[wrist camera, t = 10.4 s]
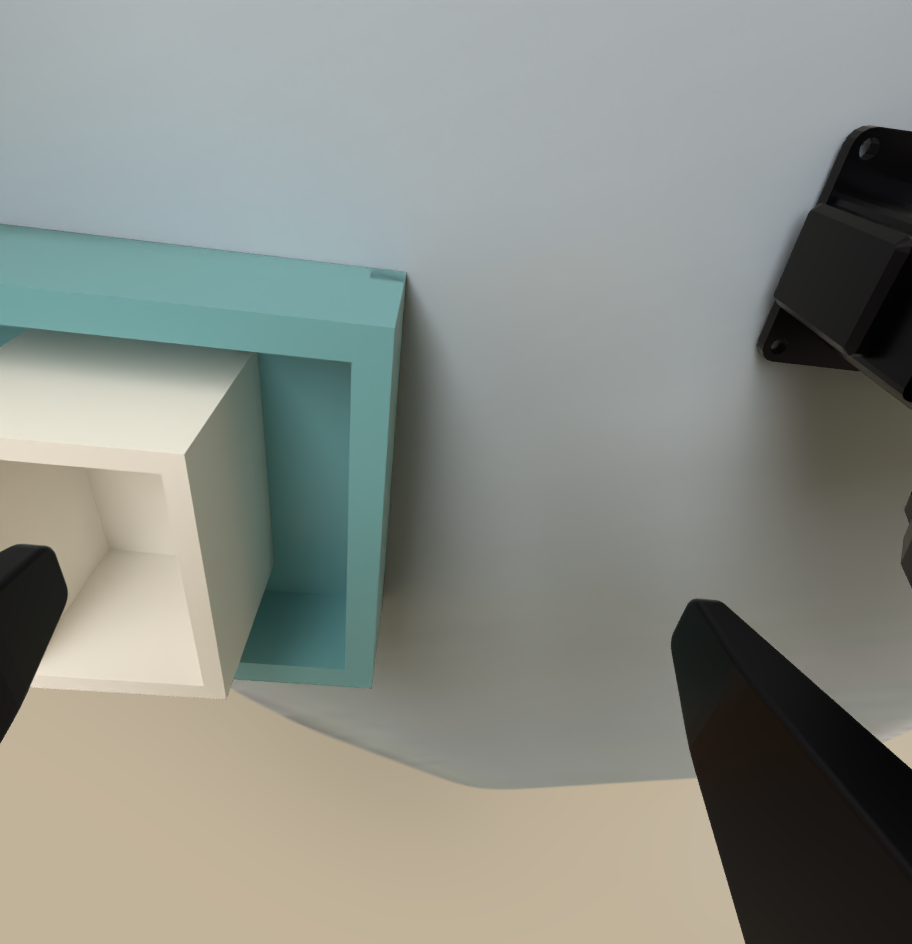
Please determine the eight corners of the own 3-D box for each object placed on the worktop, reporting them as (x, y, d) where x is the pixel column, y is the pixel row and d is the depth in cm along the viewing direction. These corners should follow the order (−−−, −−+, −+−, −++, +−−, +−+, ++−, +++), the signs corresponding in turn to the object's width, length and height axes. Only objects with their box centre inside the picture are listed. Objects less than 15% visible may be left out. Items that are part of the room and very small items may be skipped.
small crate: (256, 346, 18) (184, 454, 13) (274, 563, 23) (226, 699, 18) (37, 323, 18) (-125, 426, 13) (103, 549, 23) (7, 685, 18)
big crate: (406, 272, 18) (394, 328, 14) (383, 598, 26) (371, 688, 22) (-128, 208, 17) (-293, 251, 13) (20, 569, 25) (-57, 659, 21)
